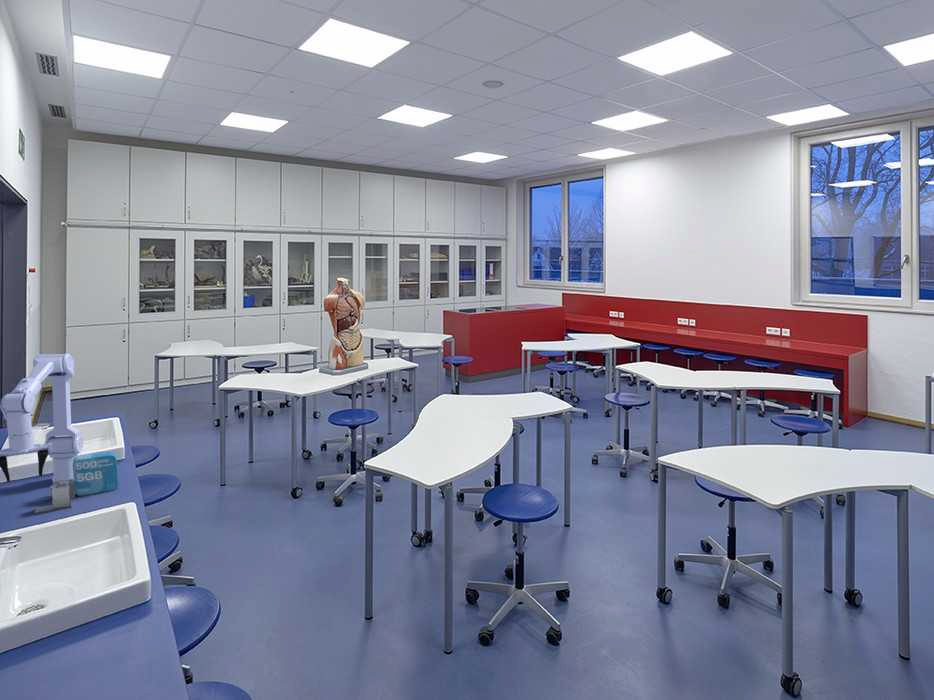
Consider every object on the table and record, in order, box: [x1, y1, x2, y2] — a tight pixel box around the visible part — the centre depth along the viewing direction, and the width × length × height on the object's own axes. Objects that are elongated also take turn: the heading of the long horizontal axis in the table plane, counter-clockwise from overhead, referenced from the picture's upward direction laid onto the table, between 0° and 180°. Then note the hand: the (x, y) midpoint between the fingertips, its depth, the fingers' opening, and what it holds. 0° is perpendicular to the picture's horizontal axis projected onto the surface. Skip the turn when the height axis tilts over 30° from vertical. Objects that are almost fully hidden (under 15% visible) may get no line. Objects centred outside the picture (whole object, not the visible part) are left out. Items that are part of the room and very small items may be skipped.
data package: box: [72, 451, 119, 497], centre depth 192 cm, size 12×4×12 cm, turn 121°
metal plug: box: [51, 483, 69, 508], centre depth 180 cm, size 4×4×6 cm
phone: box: [33, 500, 72, 516], centre depth 179 cm, size 5×9×1 cm, turn 127°
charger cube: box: [53, 479, 76, 500], centre depth 187 cm, size 5×5×5 cm
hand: (24, 478), depth 176 cm, fingers open, 7 cm apart
